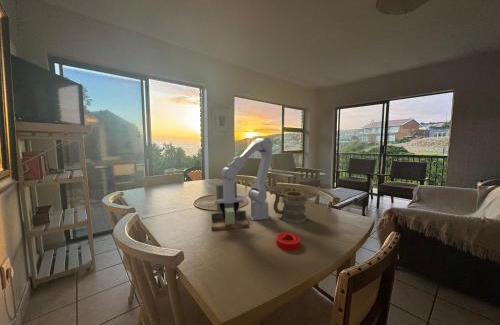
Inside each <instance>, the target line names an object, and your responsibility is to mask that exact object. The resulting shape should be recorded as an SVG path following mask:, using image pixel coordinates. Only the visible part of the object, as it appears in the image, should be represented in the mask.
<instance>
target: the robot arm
mask: <svg viewBox="0 0 500 325" xmlns="http://www.w3.org/2000/svg"><path fill="white" fill-rule="evenodd" d="M273 146H274V143H273V141H272V139H271V138H269V137H256V138H254V139H253V140H252V141H251V143H250V145H249V146H248V147H247V148H246V149H245V150H244V152H242V154H241V155H240V156H239V155H237V156H234V157H233V160H232V161H231V162H230V163H228V164H227V166H226V167H223V168H222V169H221V171H220V175H221V178H222V183H223V199H219V200H217V199H214V205H215V206H217V204H219V205H220V208H221V210H222V213H223V216H224V218H225V206H224V204H228V203H234V212H235V216H236V212H237V211H238V209H239V208H240V204H244V203H245V202H244V201H245V199H244V198H243V197H241V198H240V197H239V198H238V197H237V198H235V185H234V181H235V179H236V177H237V174H238V172H239V171H240V170H241V169H242V168H243V167H244V166H245V164H246V161H247V160H248V159H249V158H250V157H251V156H252V155H254V153H255V152H256V151H257V152H259V154H260V155H261V157H260V162H259V165H258V169H257V174H256V178H255V182H254V183H253V184H252V185H251V187H250V189H249V191H248V194H247V195H248V198H249V199H250V214H249V218H250V219H251V221H257V220H259V221H261V220H269V203H268V201H266V200H267V193H268V192H267V191H268V189H267V187H266V183H267V182H266V181H267V178H268V173H269V170H270V166H271V162H272V157H273Z"/></svg>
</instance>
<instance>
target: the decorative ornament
mask: <svg viewBox="0 0 500 325" xmlns="http://www.w3.org/2000/svg"><path fill="white" fill-rule="evenodd" d="M275 243H276V244H275V245H276V246H277V247H278V249H281V250H284V251H296V250H298V249H300V247H301V238H300V236H299V235H298V234H296V233H293V232H285V231H283V232H280V233H277V235H276V238H275Z"/></svg>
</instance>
